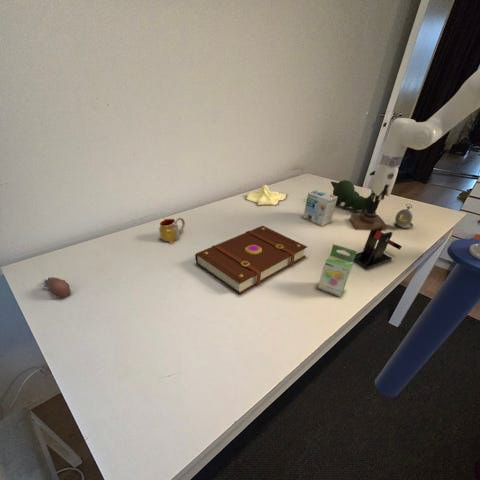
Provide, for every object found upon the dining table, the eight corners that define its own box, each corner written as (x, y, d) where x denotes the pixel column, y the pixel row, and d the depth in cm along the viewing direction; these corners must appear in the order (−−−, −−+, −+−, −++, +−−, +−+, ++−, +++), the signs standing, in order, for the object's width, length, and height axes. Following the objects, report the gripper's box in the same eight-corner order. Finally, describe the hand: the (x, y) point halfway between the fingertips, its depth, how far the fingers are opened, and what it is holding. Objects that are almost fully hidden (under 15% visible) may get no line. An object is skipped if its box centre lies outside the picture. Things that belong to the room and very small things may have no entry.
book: (305, 257, 93) (308, 245, 89) (240, 295, 77) (241, 281, 74) (260, 234, 104) (260, 222, 101) (195, 263, 89) (194, 250, 85)
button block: (376, 219, 117) (380, 210, 114) (384, 230, 110) (388, 220, 107) (349, 219, 117) (352, 210, 114) (356, 229, 110) (359, 219, 107)
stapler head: (384, 243, 96) (389, 237, 95) (398, 251, 93) (403, 245, 91) (368, 234, 88) (373, 227, 87) (383, 242, 84) (388, 235, 83)
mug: (170, 244, 98) (166, 227, 93) (157, 239, 100) (153, 222, 96) (192, 233, 104) (190, 216, 100) (180, 228, 107) (177, 212, 103)
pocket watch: (412, 224, 114) (424, 200, 107) (412, 232, 109) (425, 208, 101) (392, 220, 116) (402, 197, 109) (391, 228, 111) (402, 204, 104)
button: (372, 214, 112) (374, 210, 111) (375, 218, 109) (377, 214, 108) (363, 214, 112) (364, 210, 111) (366, 218, 109) (367, 213, 108)
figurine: (42, 291, 79) (58, 302, 73) (32, 276, 76) (48, 287, 70) (60, 283, 82) (77, 293, 76) (51, 268, 79) (68, 277, 73)
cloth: (265, 208, 123) (267, 195, 119) (238, 197, 132) (238, 184, 128) (294, 197, 134) (296, 184, 130) (267, 188, 144) (268, 175, 139)
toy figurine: (374, 216, 123) (330, 196, 134) (396, 173, 109) (344, 155, 120) (365, 222, 118) (320, 201, 129) (386, 178, 104) (333, 158, 115)
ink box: (316, 288, 80) (328, 249, 71) (321, 282, 83) (333, 243, 73) (339, 297, 78) (353, 257, 68) (343, 290, 80) (358, 251, 70)
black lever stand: (372, 250, 97) (384, 222, 90) (390, 261, 92) (404, 232, 85) (349, 258, 93) (359, 229, 85) (366, 269, 88) (379, 240, 81)
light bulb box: (302, 217, 117) (307, 192, 109) (312, 214, 120) (317, 189, 112) (321, 226, 111) (328, 200, 103) (331, 222, 114) (338, 196, 107)
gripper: (408, 167, 91) (386, 218, 104) (392, 155, 101) (374, 204, 114) (387, 166, 91) (367, 218, 104) (373, 155, 102) (357, 203, 114)
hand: (371, 210), depth 109 cm, fingers closed
